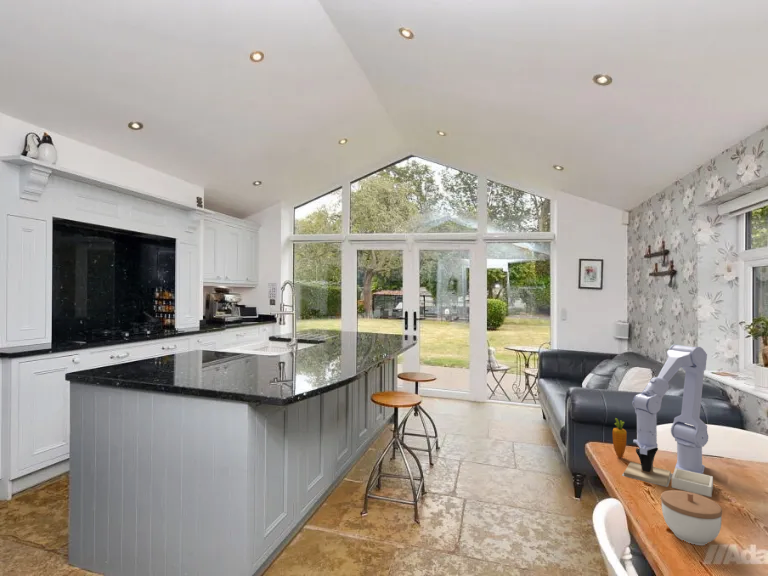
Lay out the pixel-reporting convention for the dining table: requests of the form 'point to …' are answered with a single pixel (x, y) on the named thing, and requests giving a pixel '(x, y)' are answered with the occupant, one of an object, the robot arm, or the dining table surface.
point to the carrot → (619, 438)
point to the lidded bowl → (691, 516)
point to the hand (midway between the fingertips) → (647, 469)
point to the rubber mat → (651, 482)
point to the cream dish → (692, 482)
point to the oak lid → (648, 473)
